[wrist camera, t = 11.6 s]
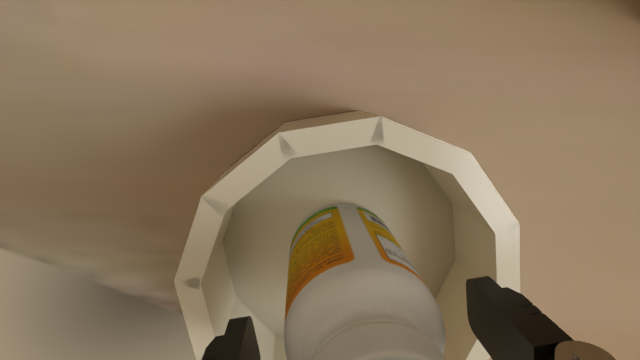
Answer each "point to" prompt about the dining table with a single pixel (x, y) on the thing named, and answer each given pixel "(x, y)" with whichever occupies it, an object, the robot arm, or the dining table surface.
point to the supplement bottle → (356, 293)
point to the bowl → (353, 188)
